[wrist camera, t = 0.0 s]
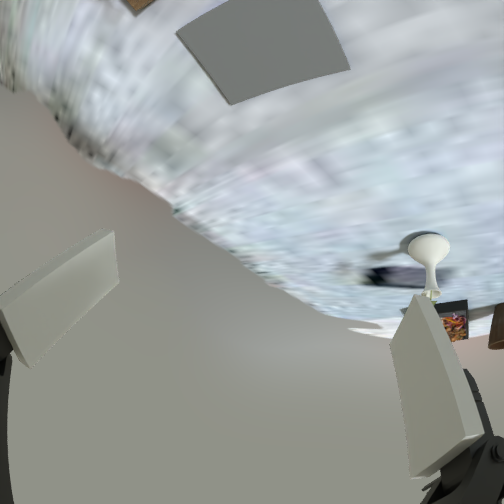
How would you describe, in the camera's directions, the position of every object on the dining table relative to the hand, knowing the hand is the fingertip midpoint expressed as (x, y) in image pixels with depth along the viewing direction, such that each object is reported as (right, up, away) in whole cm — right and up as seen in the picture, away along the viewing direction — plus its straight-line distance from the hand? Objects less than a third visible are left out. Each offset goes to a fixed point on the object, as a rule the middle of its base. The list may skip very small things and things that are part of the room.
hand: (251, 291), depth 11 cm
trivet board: (+2, +31, +20) cm, 37 cm away
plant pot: (+98, -19, +63) cm, 118 cm away
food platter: (+83, -28, +88) cm, 124 cm away
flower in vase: (+43, +4, +49) cm, 66 cm away
